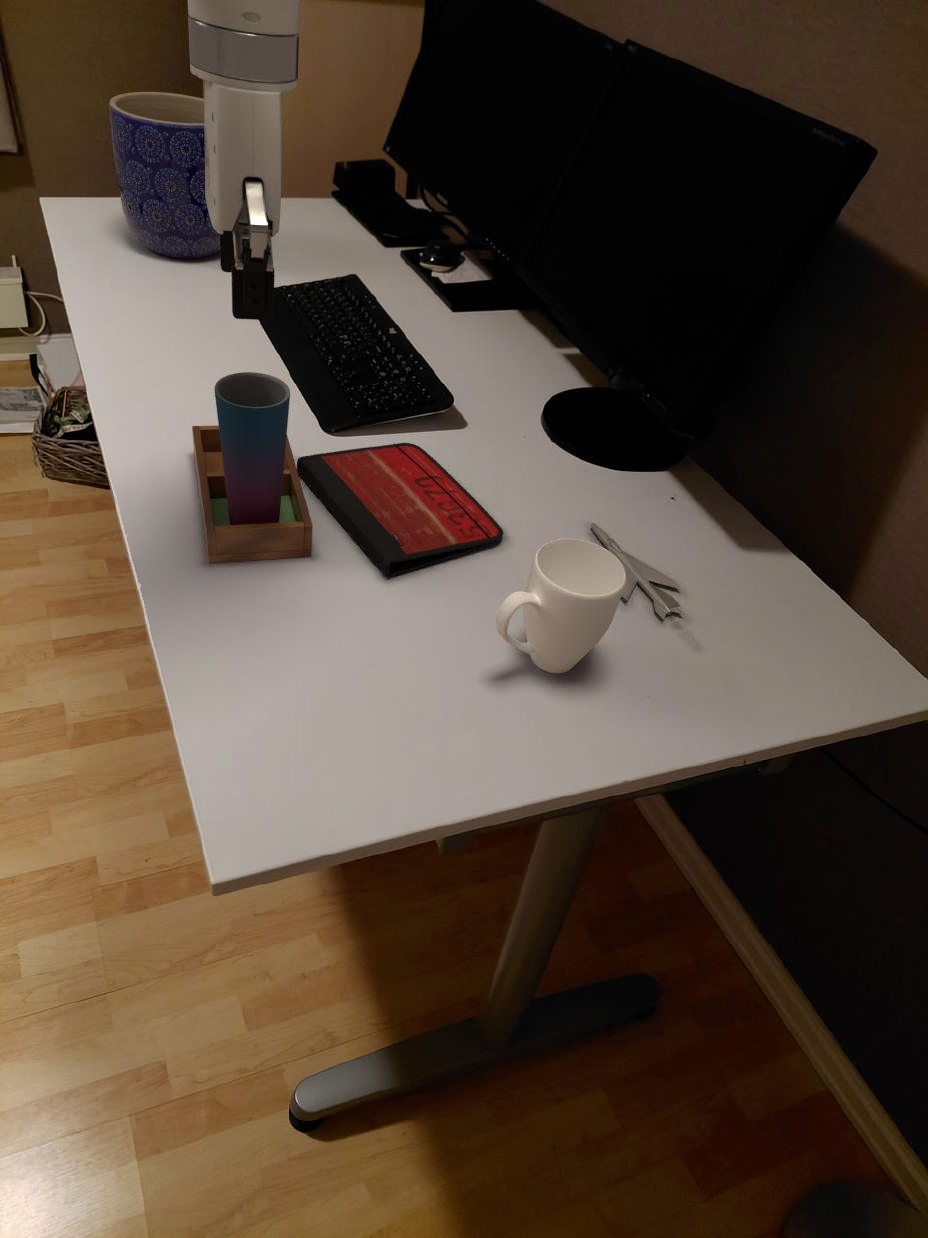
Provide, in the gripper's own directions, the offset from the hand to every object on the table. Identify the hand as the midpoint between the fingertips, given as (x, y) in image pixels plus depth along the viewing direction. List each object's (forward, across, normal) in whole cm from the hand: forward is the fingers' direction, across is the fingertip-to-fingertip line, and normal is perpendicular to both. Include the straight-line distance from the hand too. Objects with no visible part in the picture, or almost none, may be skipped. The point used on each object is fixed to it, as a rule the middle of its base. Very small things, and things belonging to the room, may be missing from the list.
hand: (245, 293), depth 71 cm
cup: (+24, -1, +1) cm, 24 cm away
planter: (+25, -81, -1) cm, 84 cm away
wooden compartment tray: (+25, -6, +1) cm, 26 cm away
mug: (+26, +22, +24) cm, 42 cm away
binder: (+25, -4, +17) cm, 31 cm away
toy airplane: (+25, +12, +40) cm, 49 cm away
